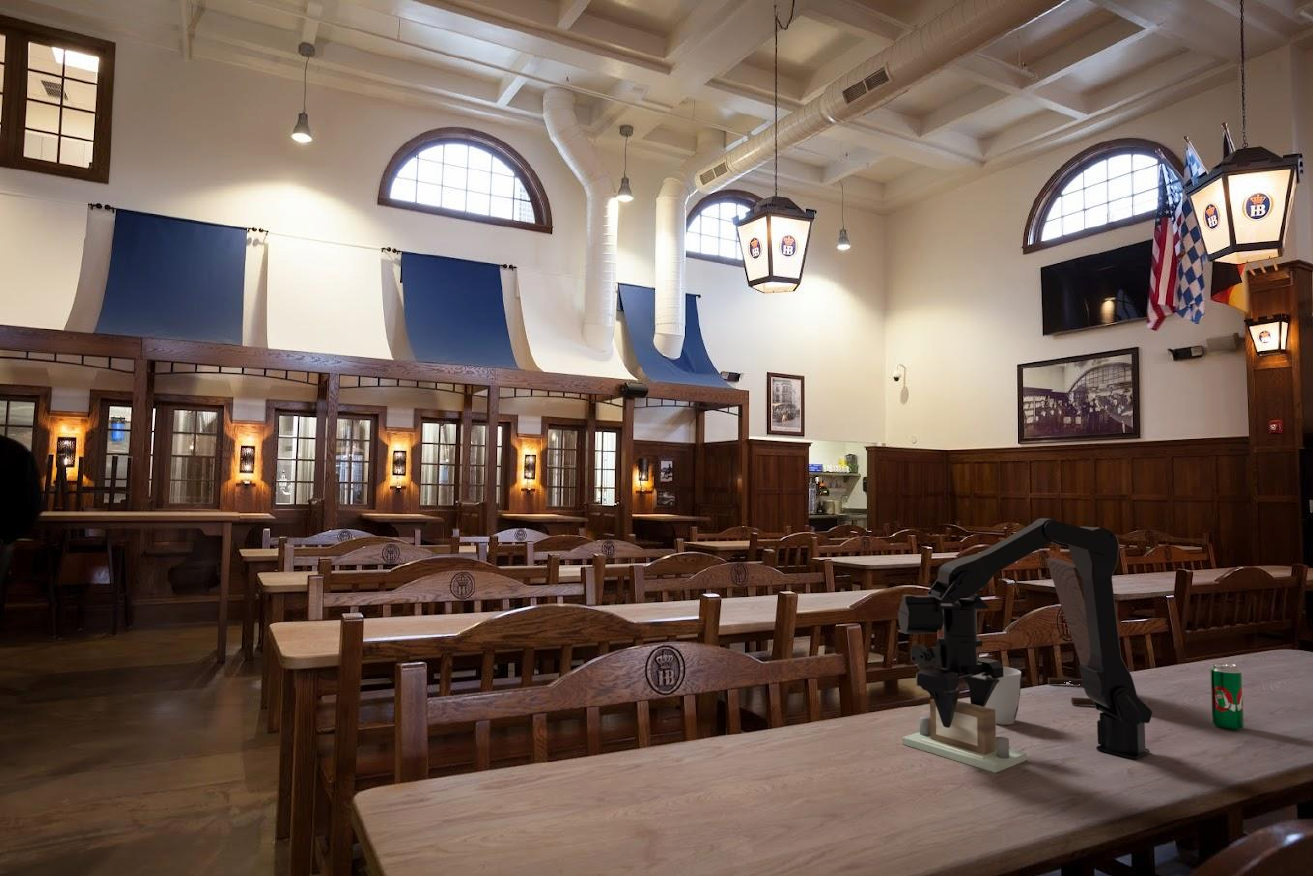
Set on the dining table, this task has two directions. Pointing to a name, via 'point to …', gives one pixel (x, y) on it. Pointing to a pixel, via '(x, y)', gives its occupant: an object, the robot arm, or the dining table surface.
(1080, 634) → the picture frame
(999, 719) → the cup
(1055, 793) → the dining table surface
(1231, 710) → the soda can
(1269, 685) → the dining table surface
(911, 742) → the ledge board
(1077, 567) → the robot arm
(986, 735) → the brown wooden block
